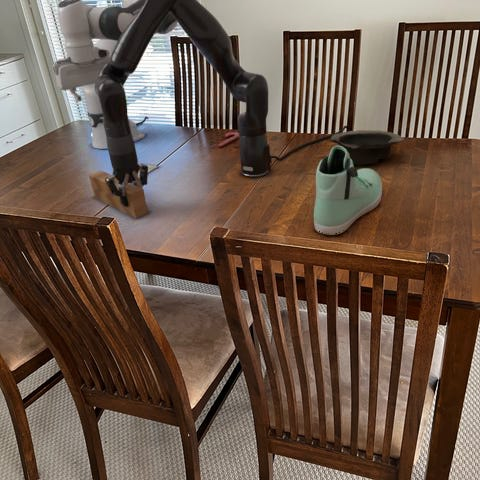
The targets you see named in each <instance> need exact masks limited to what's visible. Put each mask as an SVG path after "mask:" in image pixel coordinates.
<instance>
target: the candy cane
mask: <svg viewBox="0 0 480 480" xmlns="http://www.w3.org/2000/svg"><path fill="white" fill-rule="evenodd" d="M224 137H225V138H227V139H225V140H224V141H222V142H220V143H219V144H218V148H222V147H224V146H226V145H227V144H229V143H231V142H233V141H234V140H237V139H239V132H236V131H230V132H227V133H226V134H225V135H224ZM229 137H230V138H229Z"/></svg>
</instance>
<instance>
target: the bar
mask: <svg viewBox="0 0 480 480" xmlns="http://www.w3.org/2000/svg"><path fill="white" fill-rule="evenodd" d="M112 175H113V174H110V173H108V172H106V171H104V170H98V171H96V172H93V173H91V174H88V177H89V180H90V184H91V188H92V192H93V196H94V198H95V199H97V200H98V201H100V202H102V203H105V204H107V205H108V206H111V207H113V208H114V209H116V210H118V211H120V212H121V213H123V214H126V215H127V216H130V217H131V218H134V219H138V218H140V217H143V216H145V215H147V214H149V211H148V210H149V209H148V205H147V201H146V196H145V190H144V188H140V187H137V186H135V185H134V184H133V183H132V182H130V183H128V185H127V189H126V196H127V200H128V205H129V206H128V207H125V206H123V205H122V204H121V201H120V197H119V196H116V195H114V194H112V192H111V190H110V189H109V187H108V185H107V183H106V181H105V178H109V177H111V176H112ZM115 182H116V183H115V185H116V187H117V189H118V186H117V182H118V180H117V179H115ZM122 184H123V183H122Z"/></svg>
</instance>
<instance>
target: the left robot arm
mask: <svg viewBox="0 0 480 480" xmlns="http://www.w3.org/2000/svg"><path fill="white" fill-rule="evenodd" d="M121 1H122V6H117V5H113V6H107V7H106V6H101V7H100V6H92V5H89V4H87V3H85V2H84V1H82V0H62V1H60V2H59V3H58V5H57V18H58V23H59V27H60V28H59V29H60V32H61V34H62V36H63V38H64V47H65V48H64V49H65V52H66V57H65V58H59V59H56V60H55V61H54V63H53V65H52V68H53V72H54V75H55V82H56V86H57V88H58V89H59V90H61V91H69V92H70V93H71V95H73V97H74V100H75V102H77V103H78V102H81V101H83V99H82V95H80V94H78V93H77V88H81V90H82V93H83V96H84V100H85V104H86V109H87V118H88V122H89V125H90V127H91V128H90V129H91V137H92V138H91V140H92V141H91V147H92V148H94V149H98V150H108V147H107V139H106V133H105V129H104V124H103V112H102V108H101V104H100V100H99V97H98V96H97V94H96V92H95V83H96V80H97V78H98V76H99V74H100V73H101V71H102V69H103V68H104V66H105V65H106V63H107V62H108V61H109V59H110V57H111V55H112V52H113V50H114V48H115V46H116V44H117V42H118V40H119V38H120V36H121V34H122V33H123V31H124V30H125V28H126V27H127V26H128V25H129V23H130V22H131V21H132V20H133V19H134V18H135V17H136V15H137V14H138V13H139V12H140V10H141V9H142V7H143V5H144V4H145V2H146V0H121ZM178 24H179V23H178V22H177V20H176V19H175V17H174V16H173V15H172V13H171V12H170V11H169V13H168V14H167V16H166V17H165V19H164V20H163V22H162V23H161V25H160V26H159V28H158V29H157V31H156V32H155V34H154V35H156V34H158V35H166V34H169V33H170V32H172V31H174V30H175V28H176V27H177V25H178ZM93 40H98V41H97V42H95V43H94V42H93ZM147 120H149V117H148V116H144V118H143V120H142V121H139V122H137V123H135V122H134V121H133V120H131V119H129V123H130V128H131V133H132V136H133V139H134V143H135V142H137V141H139V140H141V139H143V138H145V137H146V135H145V133H144V132H142V131H140V130H139V129H138V126H139V125H142V124H144V123H145V122H146V121H147Z"/></svg>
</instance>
